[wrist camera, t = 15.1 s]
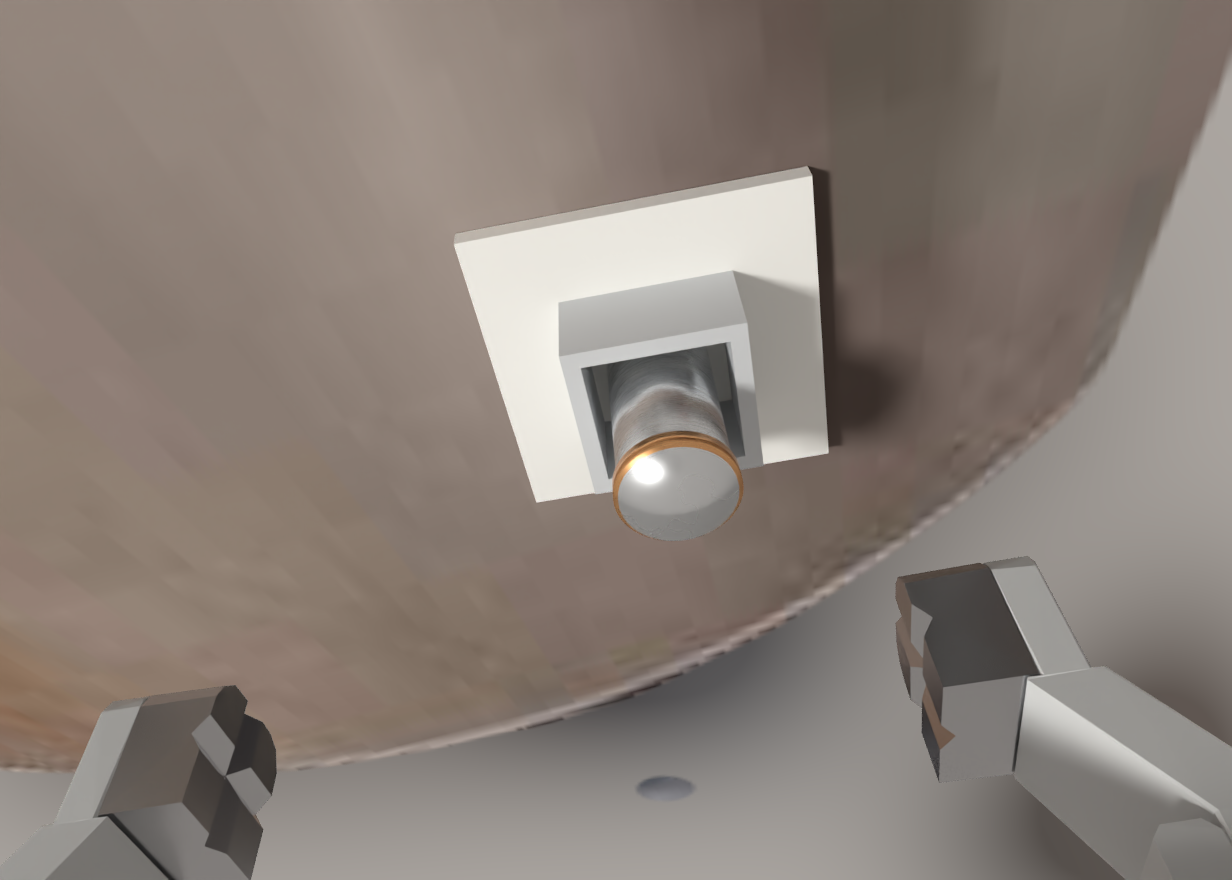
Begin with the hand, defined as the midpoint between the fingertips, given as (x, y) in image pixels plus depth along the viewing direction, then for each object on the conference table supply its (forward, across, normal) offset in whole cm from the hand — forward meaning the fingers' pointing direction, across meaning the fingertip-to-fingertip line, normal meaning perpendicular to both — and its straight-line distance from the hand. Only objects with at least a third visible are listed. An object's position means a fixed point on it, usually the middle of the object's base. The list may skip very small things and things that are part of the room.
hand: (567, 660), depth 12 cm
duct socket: (+33, -1, +18) cm, 38 cm away
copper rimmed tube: (+32, -1, +18) cm, 37 cm away
